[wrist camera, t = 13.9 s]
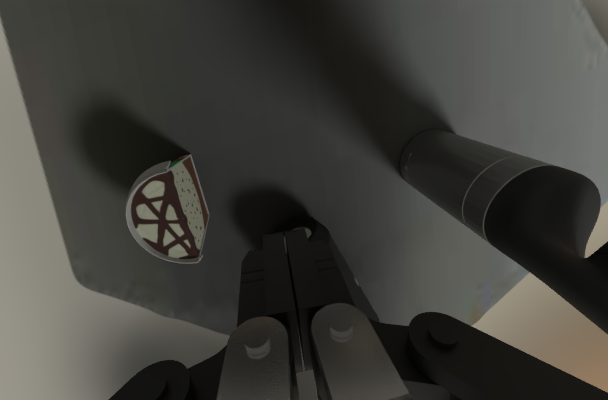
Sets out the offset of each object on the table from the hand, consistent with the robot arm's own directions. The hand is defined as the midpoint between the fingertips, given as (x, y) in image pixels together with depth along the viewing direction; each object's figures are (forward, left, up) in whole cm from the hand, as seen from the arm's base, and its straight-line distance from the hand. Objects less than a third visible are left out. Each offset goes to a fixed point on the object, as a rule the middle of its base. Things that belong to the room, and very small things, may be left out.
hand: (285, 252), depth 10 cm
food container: (+13, +8, -29) cm, 33 cm away
